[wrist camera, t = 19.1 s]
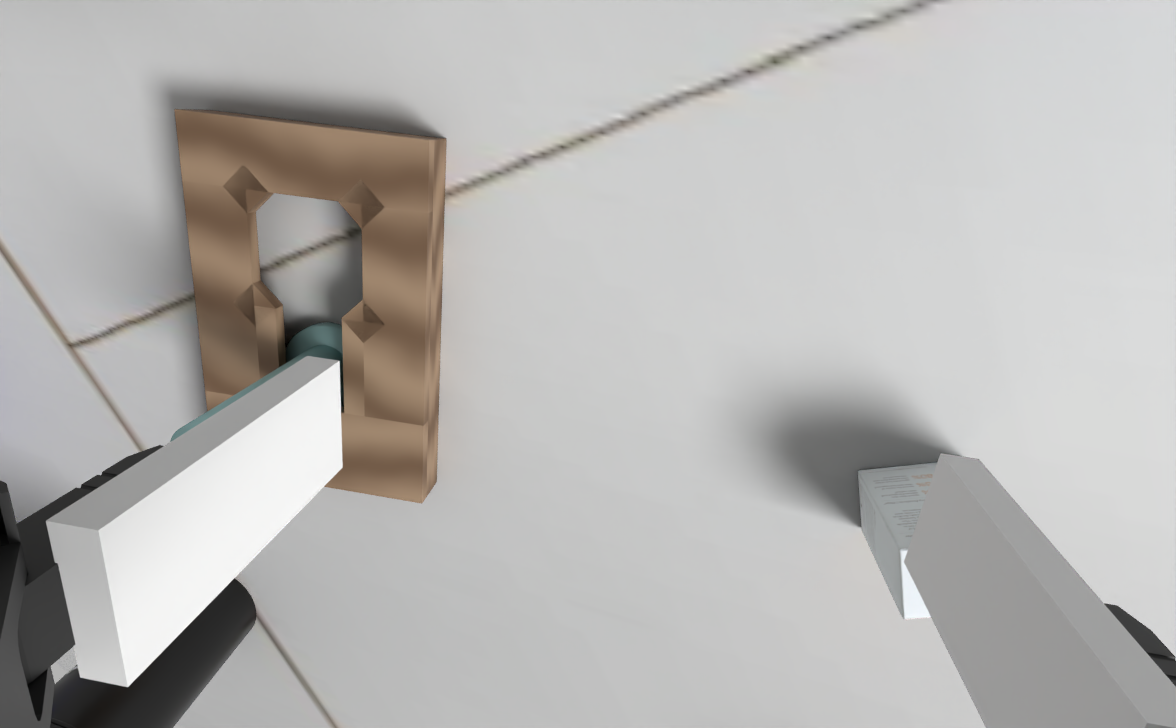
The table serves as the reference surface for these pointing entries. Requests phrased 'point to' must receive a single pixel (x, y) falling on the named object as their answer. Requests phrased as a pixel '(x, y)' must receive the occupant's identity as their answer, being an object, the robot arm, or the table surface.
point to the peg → (292, 362)
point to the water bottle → (160, 673)
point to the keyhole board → (389, 272)
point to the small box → (895, 526)
